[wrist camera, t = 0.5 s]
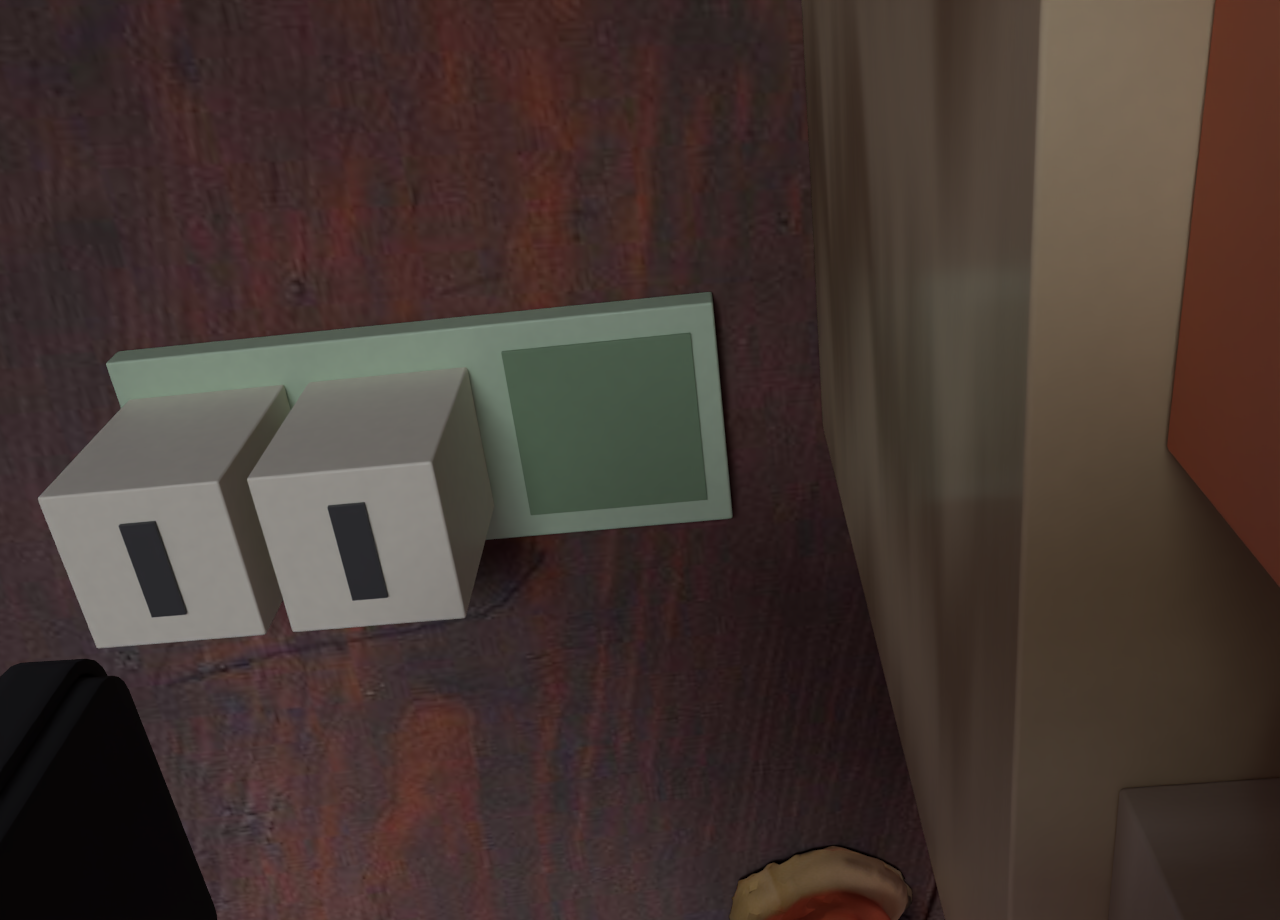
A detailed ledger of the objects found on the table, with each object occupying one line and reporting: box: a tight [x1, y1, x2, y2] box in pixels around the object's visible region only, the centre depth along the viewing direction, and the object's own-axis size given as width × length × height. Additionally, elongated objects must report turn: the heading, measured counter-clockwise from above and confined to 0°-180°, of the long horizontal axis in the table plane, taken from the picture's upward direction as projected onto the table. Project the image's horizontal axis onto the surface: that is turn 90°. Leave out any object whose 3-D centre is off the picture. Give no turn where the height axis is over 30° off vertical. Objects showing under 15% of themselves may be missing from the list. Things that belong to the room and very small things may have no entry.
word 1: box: [38, 292, 733, 648], centre depth 29 cm, size 6×15×6 cm, turn 97°
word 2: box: [802, 0, 1280, 920], centre depth 17 cm, size 14×6×24 cm, turn 7°
